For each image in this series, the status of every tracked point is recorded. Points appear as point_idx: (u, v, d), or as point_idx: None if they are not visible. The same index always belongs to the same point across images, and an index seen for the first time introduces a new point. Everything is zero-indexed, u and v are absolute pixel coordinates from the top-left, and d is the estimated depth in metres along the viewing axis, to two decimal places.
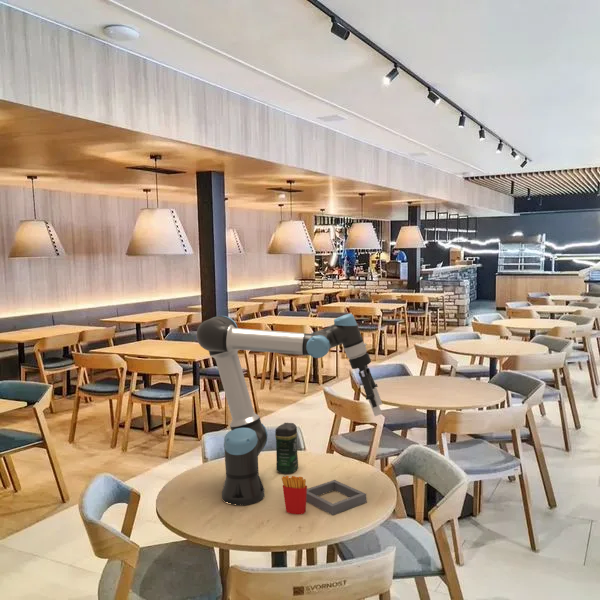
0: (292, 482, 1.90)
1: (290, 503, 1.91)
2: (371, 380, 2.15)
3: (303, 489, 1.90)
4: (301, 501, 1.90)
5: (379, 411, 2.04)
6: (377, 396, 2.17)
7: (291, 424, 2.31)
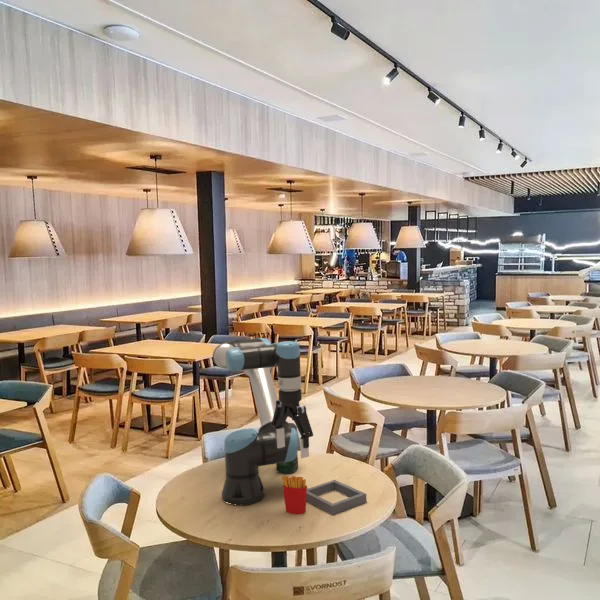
0: (292, 482, 1.90)
1: (290, 503, 1.91)
2: None
3: (303, 489, 1.90)
4: (301, 501, 1.90)
5: None
6: None
7: (291, 424, 2.31)
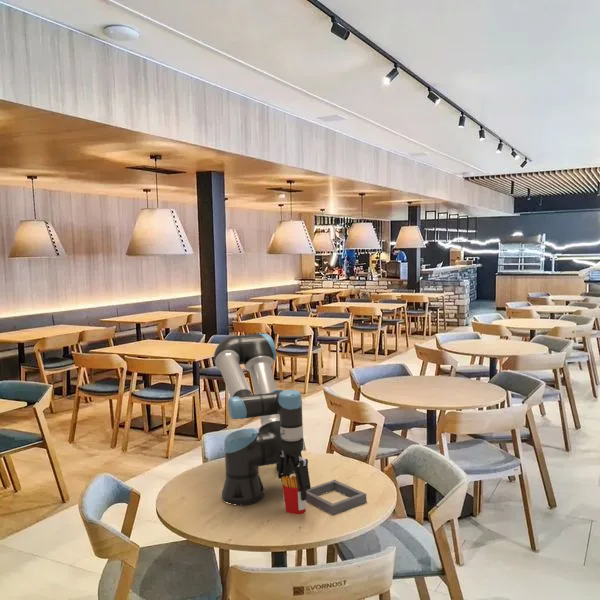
0: (292, 482, 1.91)
1: (290, 503, 1.91)
2: (296, 475, 1.89)
3: None
4: None
5: None
6: None
7: None
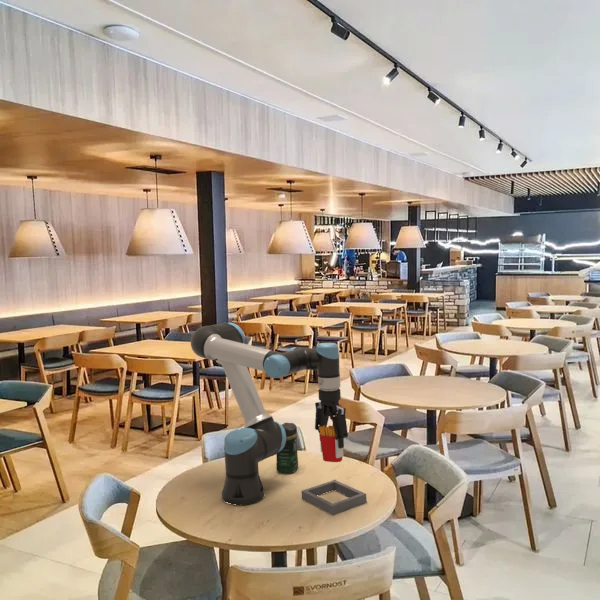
0: (329, 431, 1.97)
1: (327, 452, 1.98)
2: None
3: None
4: None
5: None
6: None
7: (291, 424, 2.31)
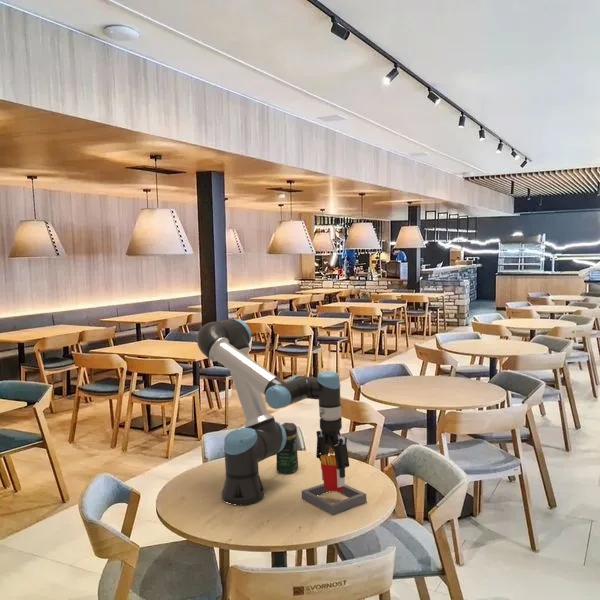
0: (331, 460, 1.97)
1: (329, 481, 1.98)
2: (335, 454, 1.96)
3: None
4: None
5: None
6: None
7: (291, 424, 2.31)
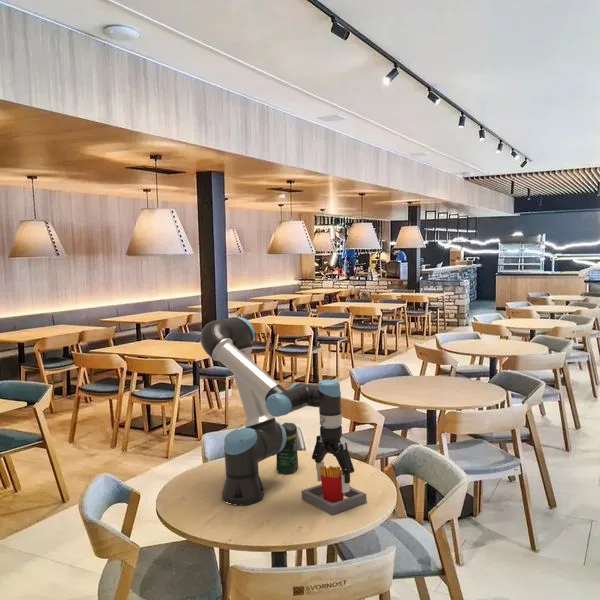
0: (330, 472, 1.98)
1: (328, 492, 1.99)
2: (338, 461, 1.95)
3: (341, 478, 1.98)
4: (339, 490, 1.98)
5: None
6: None
7: (291, 424, 2.31)
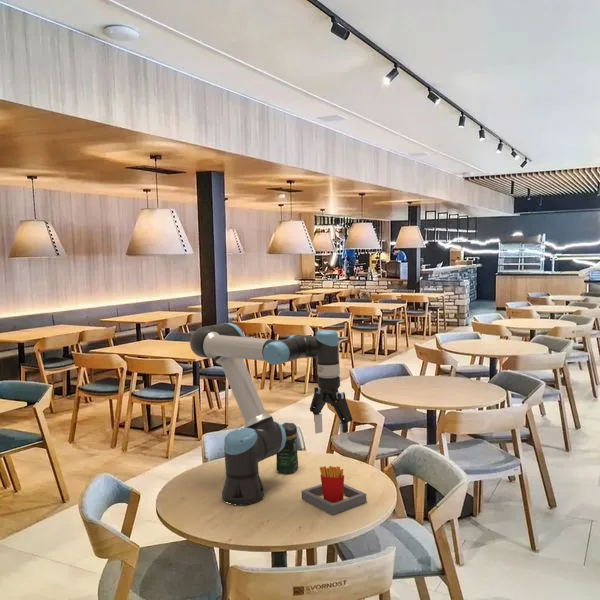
0: (330, 472, 1.98)
1: (328, 492, 1.99)
2: (336, 410, 1.94)
3: (341, 478, 1.98)
4: (339, 490, 1.98)
5: None
6: None
7: (291, 424, 2.31)
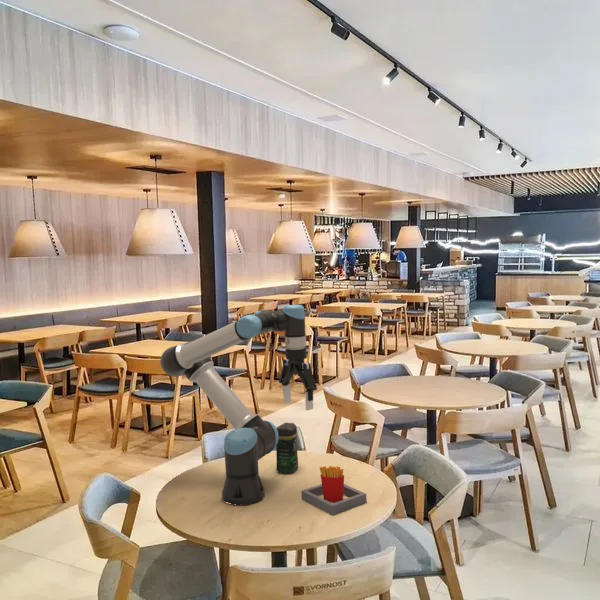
0: (330, 472, 1.98)
1: (328, 492, 1.99)
2: (302, 380, 2.05)
3: (341, 478, 1.98)
4: (339, 490, 1.98)
5: None
6: None
7: (291, 424, 2.31)
